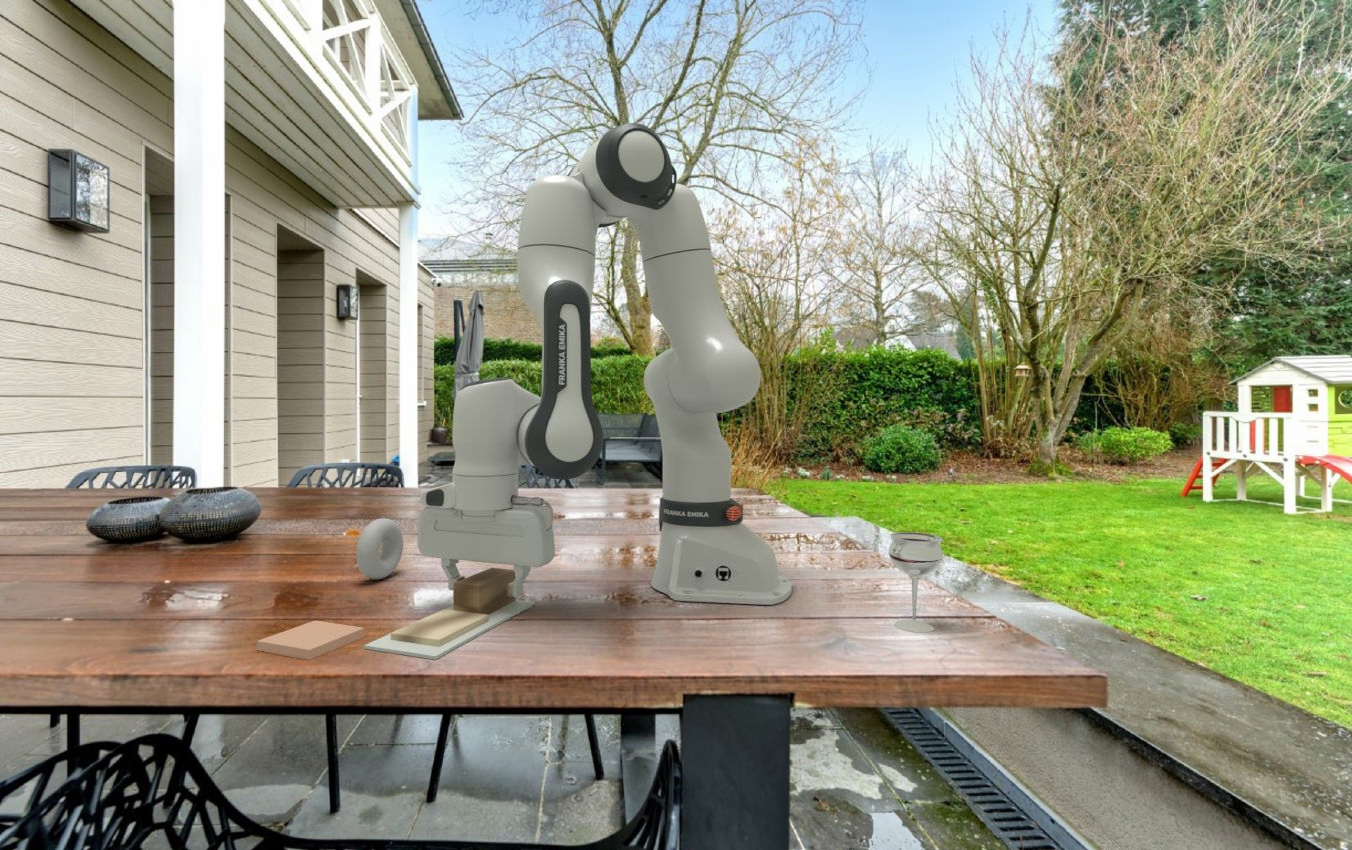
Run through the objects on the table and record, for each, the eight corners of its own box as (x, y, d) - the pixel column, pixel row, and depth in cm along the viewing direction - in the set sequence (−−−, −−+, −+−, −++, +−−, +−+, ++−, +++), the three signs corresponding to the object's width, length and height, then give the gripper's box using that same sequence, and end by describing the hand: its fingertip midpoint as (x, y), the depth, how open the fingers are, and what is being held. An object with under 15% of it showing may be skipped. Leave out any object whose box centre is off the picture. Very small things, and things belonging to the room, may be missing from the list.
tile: (364, 627, 81) (309, 649, 74) (364, 640, 81) (309, 664, 74) (315, 620, 84) (256, 641, 76) (314, 632, 84) (256, 654, 76)
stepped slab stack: (524, 601, 95) (524, 570, 95) (439, 646, 77) (439, 608, 77) (482, 597, 97) (482, 566, 97) (390, 639, 79) (390, 602, 79)
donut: (370, 587, 103) (370, 524, 103) (351, 586, 104) (351, 523, 104) (407, 571, 113) (407, 514, 113) (389, 570, 114) (389, 513, 113)
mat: (534, 604, 95) (534, 602, 95) (435, 659, 74) (435, 656, 74) (475, 597, 98) (475, 595, 98) (364, 648, 77) (364, 645, 77)
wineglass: (943, 637, 84) (945, 543, 83) (887, 631, 86) (889, 539, 85) (938, 621, 90) (940, 533, 90) (886, 615, 92) (888, 530, 92)
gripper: (563, 495, 91) (562, 593, 92) (439, 488, 98) (439, 580, 98) (540, 501, 85) (540, 606, 86) (410, 493, 92) (410, 591, 92)
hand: (485, 592), depth 92 cm, fingers open, 8 cm apart
